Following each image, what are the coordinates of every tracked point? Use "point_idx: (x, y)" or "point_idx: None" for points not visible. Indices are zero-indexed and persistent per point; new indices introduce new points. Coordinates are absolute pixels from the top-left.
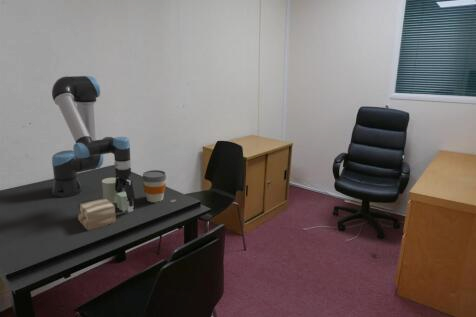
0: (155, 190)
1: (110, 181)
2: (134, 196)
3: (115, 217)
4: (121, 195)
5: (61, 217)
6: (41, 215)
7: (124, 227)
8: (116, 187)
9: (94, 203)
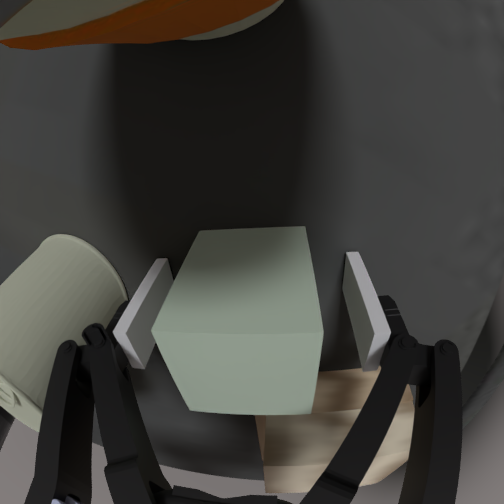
0: None
1: (20, 409)
2: (459, 371)
3: (409, 388)
4: (267, 407)
5: (207, 440)
6: (168, 448)
7: (464, 345)
8: (91, 400)
9: (306, 482)
